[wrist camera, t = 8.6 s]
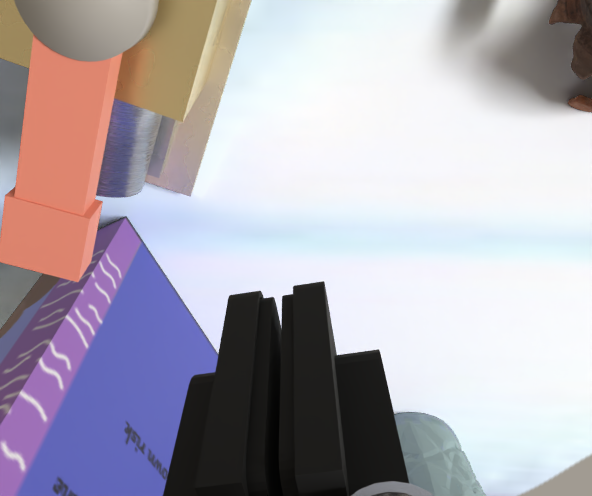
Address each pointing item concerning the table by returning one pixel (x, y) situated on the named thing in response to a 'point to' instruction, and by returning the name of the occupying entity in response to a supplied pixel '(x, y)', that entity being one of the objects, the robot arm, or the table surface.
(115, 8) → the lever
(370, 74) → the table surface
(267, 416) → the robot arm
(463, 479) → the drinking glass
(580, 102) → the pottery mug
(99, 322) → the cereal box
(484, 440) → the table surface
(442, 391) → the table surface
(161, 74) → the valve body
